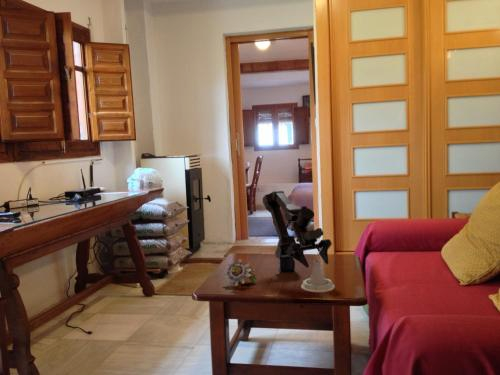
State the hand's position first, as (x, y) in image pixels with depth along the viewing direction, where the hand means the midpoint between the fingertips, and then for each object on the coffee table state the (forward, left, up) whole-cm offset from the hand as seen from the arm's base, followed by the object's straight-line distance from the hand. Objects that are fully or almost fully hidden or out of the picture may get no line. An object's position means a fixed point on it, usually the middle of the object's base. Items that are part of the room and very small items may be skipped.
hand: (318, 265), depth 169 cm
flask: (0, +1, -8) cm, 8 cm away
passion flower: (-30, +11, -9) cm, 34 cm away
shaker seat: (0, 0, -9) cm, 9 cm away
